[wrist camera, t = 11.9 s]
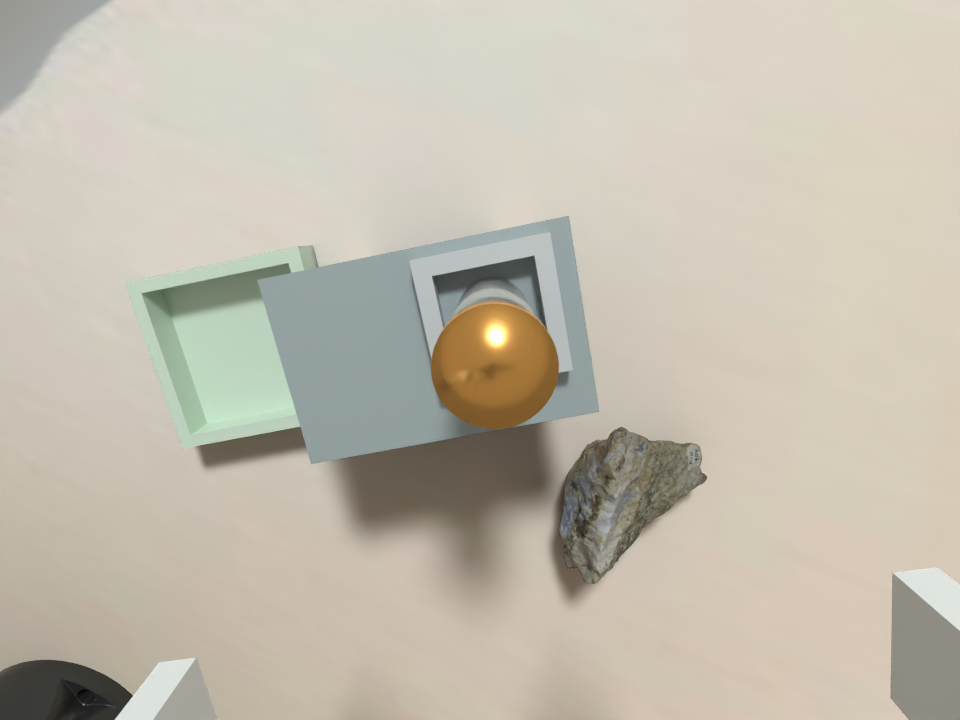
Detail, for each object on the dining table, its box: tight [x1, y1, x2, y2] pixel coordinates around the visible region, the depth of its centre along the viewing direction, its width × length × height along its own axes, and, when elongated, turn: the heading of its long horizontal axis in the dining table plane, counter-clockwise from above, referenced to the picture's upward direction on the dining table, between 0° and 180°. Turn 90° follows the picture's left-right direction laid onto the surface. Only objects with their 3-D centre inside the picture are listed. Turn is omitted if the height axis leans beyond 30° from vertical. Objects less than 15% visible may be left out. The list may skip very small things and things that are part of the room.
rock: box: [559, 427, 707, 584], centre depth 34 cm, size 11×6×10 cm
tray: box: [124, 245, 318, 448], centre depth 34 cm, size 11×11×3 cm
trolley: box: [257, 216, 599, 464], centre depth 29 cm, size 14×10×12 cm
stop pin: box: [431, 277, 559, 429], centre depth 19 cm, size 3×3×10 cm
